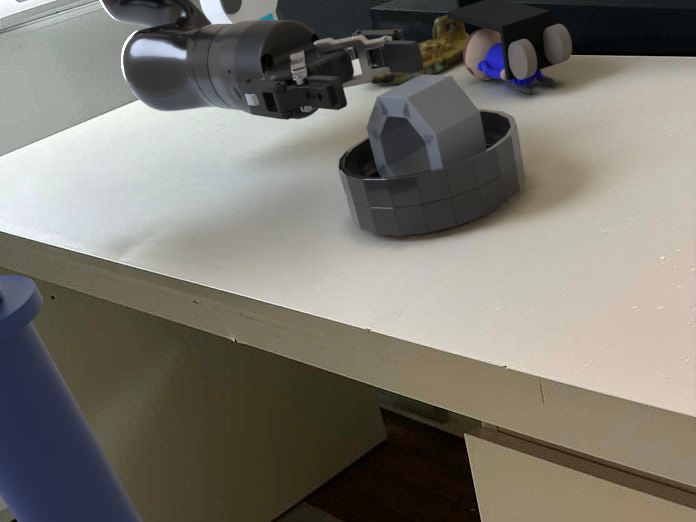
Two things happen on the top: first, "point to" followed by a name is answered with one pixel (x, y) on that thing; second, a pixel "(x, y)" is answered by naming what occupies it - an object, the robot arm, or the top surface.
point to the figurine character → (512, 42)
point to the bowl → (435, 185)
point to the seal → (434, 51)
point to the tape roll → (424, 126)
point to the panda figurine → (240, 10)
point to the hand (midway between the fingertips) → (381, 75)
